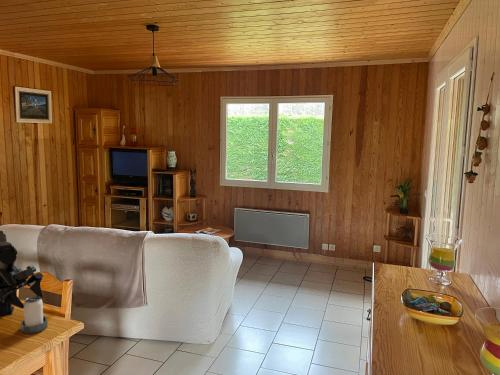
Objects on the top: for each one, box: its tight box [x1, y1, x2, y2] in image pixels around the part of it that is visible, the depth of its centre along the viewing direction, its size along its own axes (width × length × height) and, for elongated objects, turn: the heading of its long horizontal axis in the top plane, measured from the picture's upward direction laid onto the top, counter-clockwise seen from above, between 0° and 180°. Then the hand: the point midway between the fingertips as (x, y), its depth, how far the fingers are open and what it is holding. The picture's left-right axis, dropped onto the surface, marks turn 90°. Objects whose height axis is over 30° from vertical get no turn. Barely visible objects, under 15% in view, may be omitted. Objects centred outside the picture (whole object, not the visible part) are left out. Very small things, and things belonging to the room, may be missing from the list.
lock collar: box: [20, 315, 48, 335], centre depth 151 cm, size 9×9×3 cm
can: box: [23, 295, 44, 326], centre depth 150 cm, size 6×6×12 cm
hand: (33, 302), depth 150 cm, fingers open, 9 cm apart
